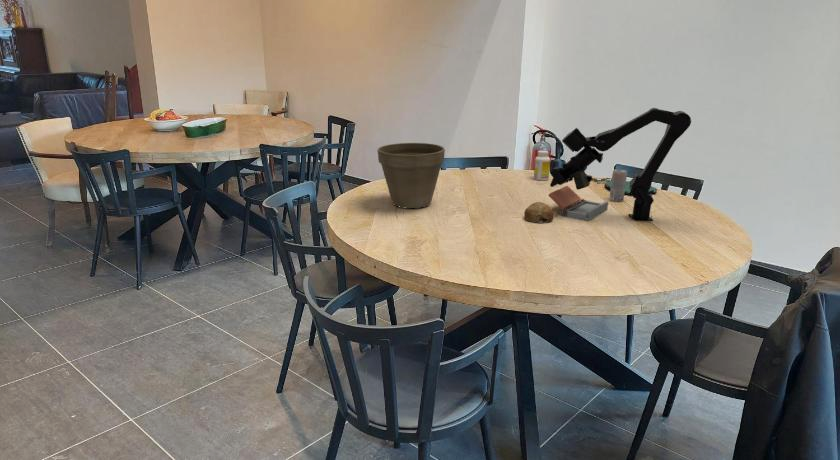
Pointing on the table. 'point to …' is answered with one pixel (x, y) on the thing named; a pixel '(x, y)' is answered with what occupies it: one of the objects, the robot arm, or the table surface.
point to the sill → (573, 207)
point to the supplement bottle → (542, 166)
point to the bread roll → (539, 213)
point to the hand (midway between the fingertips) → (551, 186)
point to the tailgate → (564, 197)
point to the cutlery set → (627, 190)
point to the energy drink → (618, 185)
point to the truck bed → (588, 210)
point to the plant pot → (411, 172)
